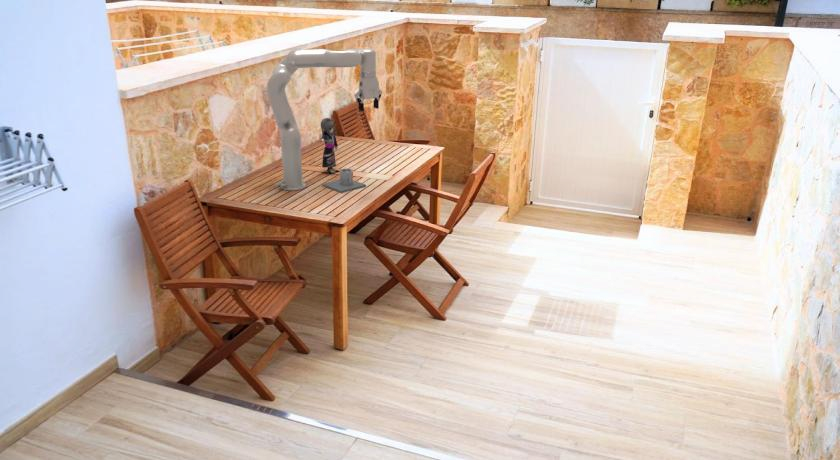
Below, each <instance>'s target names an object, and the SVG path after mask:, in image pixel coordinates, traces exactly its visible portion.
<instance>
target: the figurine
mask: <svg viewBox="0 0 840 460" xmlns="http://www.w3.org/2000/svg"><path fill="white" fill-rule="evenodd" d="M334 129H335V124H334V120H332V118H329V117H325V118H323V119H321V121H320V130H321V135H322V137H320V141H321V142H324V145H325V146H324V150H323V155H322V162H321V163H322V164H321V166H322V168H326V172H327V173H328V174H333V175H334V174H335V173H336V172H337V169H336V168H334V167H336V166H337V163H336V156H335V155H336V154H335V151H338V150H339V149H338V147H339V146H338V141H337V138H336V135H335V132H334Z"/></svg>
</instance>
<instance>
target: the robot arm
mask: <svg viewBox="0 0 840 460" xmlns="http://www.w3.org/2000/svg"><path fill="white" fill-rule="evenodd" d="M376 58H377V55H376V50H375V49H374V48H362V49H361V48H360V49H359V48H348V49H346V50H344V51H343V50H341V51H336V50H330V49H327V48H313V49H311V48H310V49H308V48H307V49H301V48H298V47H296V48H295V47H294V48H293V49H291V50H290V51H289V52H287V54H286V55H285V56H284V57H283V58H282V59H281V60H280V62H278V63H277V64H276V65H275V67H274V68H273V70H272V74H271V76H270V77H269V78H268V81H267V85H266V95H267V97H268V101H269V104H270V106H271V109H272V114H273V118H274V120H275V123H276V125H277V128H278V132H279V136H280V145H281V149H280V150H281V161H282V163H281V164H282V175H283V176H282V178H281V180H280V181H279V182H275V184H274V185H275V187H280V188H281V189H282V190H285V191H301V190H303V189H305V188H306V187H307V184H306V183H305V182H304V181H303V166H302V165H303V164H302V161H303V160H302V143H301V142H302V137H301V132H300V129H299V127H298V123H297V120H296V118H295V115H294V114H295V113H294V111H293V109H292V107H291V105H290V102H289V101H288V97H287V93H286V86H288V84H289V83H290V82H291V80H292V76H293V75H294V74H295V72H296V71H298V69H309V68H311V69H312V68H353V67H354V68H355V67H358V66H360V73H359V76H358V77H360V78H359V82H358V91H357V92H356V93H354V98H355V101H356V102H357V104H358V111H360V112H364V111H365V104H364V101H365V100H370V99H373V108H374V109H379V102H380V99H381V98H382V94H383V90H381V89H380V86H379V80H378V77H377V64H376V63H377V62H376V61H377V59H376Z"/></svg>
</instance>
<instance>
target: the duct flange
mask: <svg viewBox="0 0 840 460" xmlns="http://www.w3.org/2000/svg"><path fill="white" fill-rule="evenodd" d="M321 186H322V187H324V188H326V189H329V190H332V191H334V192H338V193H339V194H343V193H346V192H350V191H354V190H358V189H362V188H366V187H367V184H365V183H362V182H360V181H356V180H354V179H353V184H352V185H341V184H340V179H336V180H333V181H329V182H324V183H322V184H321Z"/></svg>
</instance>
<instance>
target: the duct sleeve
mask: <svg viewBox="0 0 840 460" xmlns="http://www.w3.org/2000/svg"><path fill="white" fill-rule="evenodd" d="M339 180H340V184H341V185H352V184H353V180H354V171H353V169H351V168H341V169H339Z"/></svg>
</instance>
